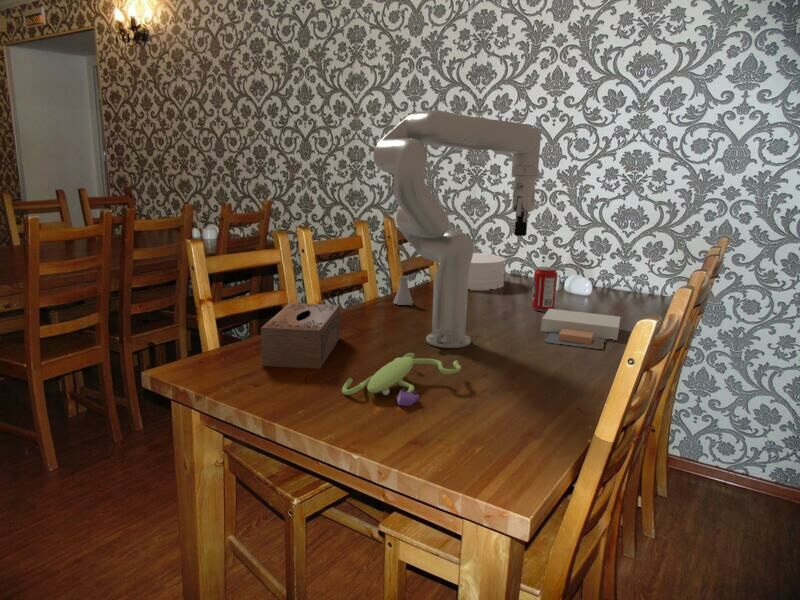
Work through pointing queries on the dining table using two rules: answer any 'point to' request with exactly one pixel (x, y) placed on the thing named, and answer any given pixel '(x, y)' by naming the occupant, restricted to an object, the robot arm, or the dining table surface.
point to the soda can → (544, 289)
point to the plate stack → (486, 272)
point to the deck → (581, 323)
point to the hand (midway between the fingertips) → (520, 235)
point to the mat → (554, 338)
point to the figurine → (397, 378)
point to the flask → (403, 293)
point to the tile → (576, 336)
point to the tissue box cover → (300, 335)
